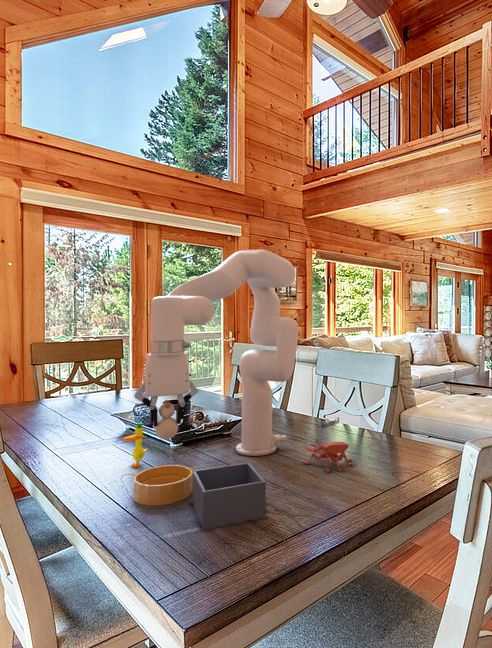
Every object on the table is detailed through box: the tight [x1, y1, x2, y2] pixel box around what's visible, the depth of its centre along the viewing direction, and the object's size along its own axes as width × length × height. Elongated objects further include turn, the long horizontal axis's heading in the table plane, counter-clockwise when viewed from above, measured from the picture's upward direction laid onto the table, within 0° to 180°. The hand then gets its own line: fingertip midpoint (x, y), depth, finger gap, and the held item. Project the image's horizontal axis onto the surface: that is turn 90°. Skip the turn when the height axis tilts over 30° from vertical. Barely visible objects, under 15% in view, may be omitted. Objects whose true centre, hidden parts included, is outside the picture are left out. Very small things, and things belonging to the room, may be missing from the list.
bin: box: [191, 461, 267, 531], centre depth 100 cm, size 13×13×8 cm
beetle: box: [303, 417, 354, 473], centre depth 131 cm, size 15×12×13 cm
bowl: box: [132, 464, 194, 507], centre depth 107 cm, size 13×13×5 cm
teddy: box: [154, 399, 179, 440], centre depth 107 cm, size 5×5×9 cm
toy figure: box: [122, 422, 148, 469], centre depth 126 cm, size 7×4×12 cm, turn 138°
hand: (166, 423), depth 107 cm, fingers closed on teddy, 4 cm apart
